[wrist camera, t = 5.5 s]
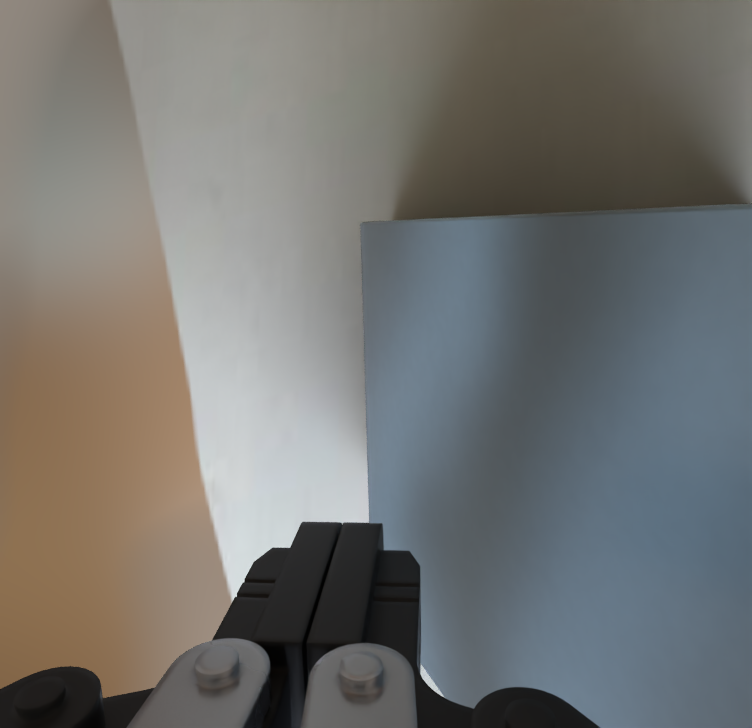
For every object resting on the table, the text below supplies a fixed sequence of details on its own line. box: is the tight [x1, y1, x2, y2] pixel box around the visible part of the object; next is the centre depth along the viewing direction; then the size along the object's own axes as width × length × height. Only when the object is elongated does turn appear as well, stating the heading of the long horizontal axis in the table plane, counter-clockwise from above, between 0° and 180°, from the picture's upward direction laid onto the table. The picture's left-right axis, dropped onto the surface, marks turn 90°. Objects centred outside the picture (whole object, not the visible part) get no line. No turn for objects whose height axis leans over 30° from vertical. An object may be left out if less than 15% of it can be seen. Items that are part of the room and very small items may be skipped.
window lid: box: [360, 203, 752, 728], centre depth 13 cm, size 16×13×1 cm
